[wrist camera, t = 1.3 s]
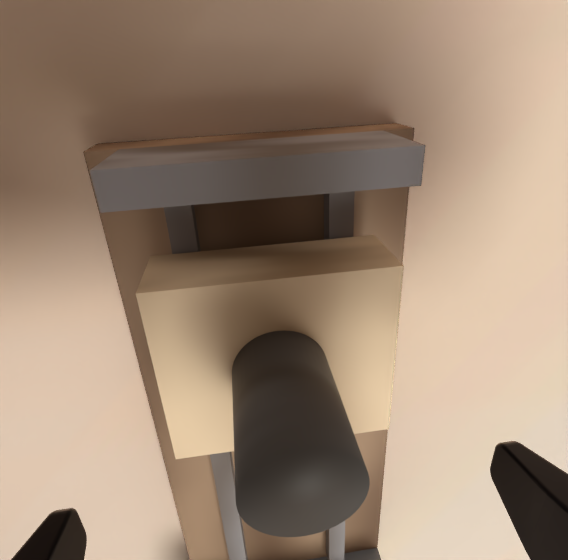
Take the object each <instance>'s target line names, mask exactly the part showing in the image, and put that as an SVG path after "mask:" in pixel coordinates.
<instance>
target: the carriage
mask: <svg viewBox="0 0 568 560" xmlns="http://www.w3.org/2000/svg"><path fill="white" fill-rule="evenodd" d="M403 268H404V266H403V265H402V264H401V263H400V261H399V260H398V259H397V258H396V257H395V256H394V255H393V254H392V253H391V252H390V251H389V250H388V249H387V248H386V247H385V246H384V244H383V243H382V242H381V241H380V240H379V239H378V238H377V237H376V236H375V235H368V236H357V237H347V238H337V239H326V240H316V241H305V242H295V243H284V244H274V245H263V246H253V247H242V248H232V249H221V250H211V251H201V252H190V253H180V254H169V255H159V256H150V259H149V261H148V264H147V266H146V269H145V271H144V274H143V276H142V279H141V282H140V284H139V287H138V289H137V292H136V297H137V301H138V305H139V310H140V314H141V318H142V322H143V326H144V330H145V334H146V338H147V343H148V347H149V351H150V355H151V359H152V363H153V367H154V372H155V376H156V380H157V384H158V388H159V392H160V396H161V401H162V405H163V409H164V413H165V417H166V421H167V425H168V429H169V434H170V438H171V442H172V446H173V450H174V454H175V458H176V459H182V458H189V457H196V456H203V455H210V454H217V453H224V452H231V451H234V463H235V497H236V507H237V511H238V513H239V515H240V517H241V518H242V519H243V521H244V522H245V523H247V524H248V525H249V526H250V527H252V528H253V529H255V530H257V531H259V532H262V533H265V534H268V535H272V536H278V537H301V536H308V535H313V534H316V533H320V532H323V531H325V530H328V529H330V528H333V527H335V526H337V525H338V524H340V523H342V522H344V521H345V520H346V519H348V518H349V517H350V516H351V515H353V514H354V513H355V512H356V511H357V510H358V509H359V508H360V506H361V505H362V503H363V502H364V500H365V498H366V496H367V494H368V491H369V485H370V479H369V474H368V471H367V468H366V466H365V463H364V460H363V457H362V455H361V452H360V449H359V446H358V444H357V441H356V438H355V435H354V434H358V433H365V432H372V431H379V430H386V429H389V423H390V412H391V401H392V390H393V379H394V367H395V356H396V345H397V334H398V323H399V312H400V301H401V290H402V279H403Z"/></svg>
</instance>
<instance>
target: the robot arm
mask: <svg viewBox="0 0 568 560" xmlns="http://www.w3.org/2000/svg"><path fill="white" fill-rule="evenodd" d="M490 472H491V477H492V480H493V482H494V484H495V486H496V488H497V491H498V493H499V495H500V497H501V499H502V501H503V503H504V506H505V508H506V510H507V512H508V514H509V516H510V518H511V521H512V523H513V525H514V527H515V529H516V531H517V534H518V536H519V538H520V540H521V542H522V544H523V546H524V548H525V550H526V552H527V554H528V556H529V557H530V559H531V560H568V474H567V473H566V472H564V471H562V470H561V469H559V468H558V467H556V466H555V465H553V464H552V463H550V462H548V461H547V460H545V459H544V458H542V457H541V456H539V455H538V454H536V453H534V452H533V451H531V450H530V449H528V448H527V447H525V446H524V445H522V444H520V443H518V442H516V441H509V442H503V443H498V444H497V445H496V447H495V451H494V455H493V459H492V463H491V467H490ZM86 540H87V539H86V532H85V529H84V527H83V525H82V522H81V520H80V518H79V515H78V513H77V511H76V510H75V509H73V508H69V509H62V510H56V511H54V512H52V513H51V514H49V515H48V517H47V518H46V519H45V520H44V521H43V522H42V524H41V525H40V526H39V527H38V528H37V530H36V531H35V532H34V533H33V534H32V536H31V537H30V538H29V539H28V540H27V541H26V543H25V544H24V545H23V546H22V547H21V549H20V550H19V551H18V552H17V553H16V555H15V556H14V557H13V558H12V559H11V560H84V556H85V549H86Z"/></svg>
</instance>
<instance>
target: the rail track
mask: <svg viewBox="0 0 568 560" xmlns="http://www.w3.org/2000/svg"><path fill="white" fill-rule="evenodd" d="M413 136H414V128H411V127H408V126H404V125H401V124H397V123H392V124H378V125H364V126H349V127H335V128H320V129H306V130H292V131H277V132H263V133H248V134H234V135H220V136H205V137H191V138H176V139H162V140H148V141H133V142H119V143H104V144H96V145H95V146H93V147H91V148H89V149H88V150H86V151H84V156H85V160H86V163H87V167H88V171H89V175H90V179H91V183H92V186H93V190H94V194H95V198H96V202H97V206H98V209H99V213H100V217H101V221H102V225H103V229H104V232H105V236H106V240H107V244H108V248H109V252H110V255H111V259H112V263H113V267H114V271H115V275H116V278H117V282H118V286H119V290H120V294H121V298H122V301H123V305H124V309H125V313H126V317H127V321H128V324H129V328H130V332H131V336H132V340H133V344H134V347H135V351H136V355H137V359H138V363H139V367H140V370H141V374H142V378H143V382H144V386H145V390H146V393H147V397H148V401H149V405H150V409H151V413H152V416H153V420H154V424H155V428H156V432H157V436H158V439H159V443H160V447H161V451H162V455H163V459H164V462H165V466H166V470H167V474H168V478H169V482H170V485H171V489H172V493H173V497H174V501H175V505H176V508H177V512H178V516H179V520H180V524H181V528H182V531H183V535H184V539H185V543H186V547H187V551H188V554H189V558H190V560H308V559H314V558H320V557H326V556H327V559H328V560H344V553H349V552H355V551H361V550H367V549H373V548H377V544H378V533H379V521H380V510H381V499H382V487H383V476H384V465H385V453H386V442H387V431H388V429H386V430H379V431H372V432H365V433H358V434H354V435H355V438H356V441H357V444H358V446H359V449H360V452H361V455H362V457H363V460H364V463H365V466H366V468H367V471H368V474H369V479H370V485H369V491H368V494H367V496H366V498H365V500H364V502H363V503H362V505H361V506H360V508H359V509H358V510H357V511H356V512H355V513H354V514H353V515H351V516H350V517H349V518H348V519H346V520H345V521H344V522H342V523H340V524H338V525H337V526H335V527H333V528H330V529H328V530H325V531H323V532H320V533H316V534H313V535H308V536H301V537H278V536H272V535H268V534H265V533H262V532H259V531H257V530H255V529H253V528H252V527H250V526H249V525H248V524H247V523H245V522H244V521H243V519H242V518H241V517H240V515H239V513H238V511H237V507H236V497H235V463H234V451H231V452H224V453H217V454H210V455H203V456H196V457H189V458H182V459H176V458H175V454H174V450H173V446H172V442H171V438H170V434H169V429H168V425H167V421H166V417H165V413H164V409H163V405H162V401H161V396H160V392H159V388H158V384H157V380H156V376H155V372H154V367H153V363H152V359H151V355H150V351H149V347H148V343H147V338H146V334H145V330H144V326H143V322H142V318H141V314H140V310H139V305H138V301H137V297H136V292H137V289H138V287H139V284H140V282H141V279H142V276H143V274H144V271H145V269H146V266H147V264H148V261H149V259H150V256H159V255H169V254H180V253H190V252H201V251H211V250H221V249H232V248H242V247H253V246H263V245H274V244H284V243H295V242H305V241H316V240H326V239H337V238H347V237H357V236H368V235H375V236H376V237H377V238H378V239H379V240H380V241H381V242H382V243H383V244H384V246H385V247H386V248H387V249H388V250H389V251H390V252H391V253H392V254H393V255H394V256H395V257H396V258H397V259H398V260H399V261H400V263H401V264H402V261H403V249H404V238H405V227H406V215H407V204H408V193H409V187H410V186H421V182H422V172H423V163H424V153H425V145H423V144H420V143H417V142H415V141H413Z"/></svg>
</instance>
